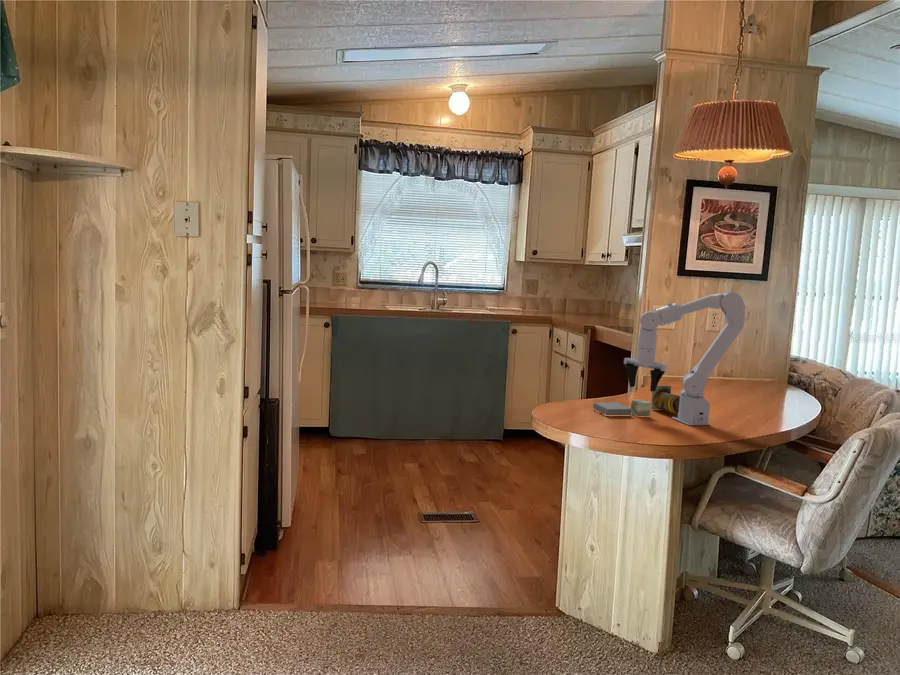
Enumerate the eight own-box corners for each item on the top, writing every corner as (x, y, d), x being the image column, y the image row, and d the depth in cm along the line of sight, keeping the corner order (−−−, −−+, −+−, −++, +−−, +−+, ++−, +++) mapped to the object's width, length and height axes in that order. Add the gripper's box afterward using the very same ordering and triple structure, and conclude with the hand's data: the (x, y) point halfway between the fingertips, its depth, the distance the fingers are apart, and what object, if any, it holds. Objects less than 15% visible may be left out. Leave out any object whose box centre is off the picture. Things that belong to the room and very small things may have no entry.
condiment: (651, 409, 234) (671, 415, 223) (652, 385, 234) (673, 390, 222) (669, 409, 236) (690, 415, 225) (670, 385, 236) (692, 390, 224)
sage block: (649, 417, 223) (651, 402, 222) (637, 417, 222) (639, 402, 221) (641, 414, 227) (643, 399, 227) (630, 414, 226) (631, 399, 225)
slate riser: (630, 417, 222) (631, 408, 222) (606, 418, 219) (607, 409, 219) (616, 411, 231) (617, 402, 230) (592, 411, 228) (593, 402, 228)
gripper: (673, 350, 219) (668, 391, 221) (633, 344, 229) (629, 383, 231) (662, 352, 214) (657, 394, 216) (622, 345, 224) (618, 385, 226)
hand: (642, 388), depth 223 cm, fingers open, 7 cm apart
